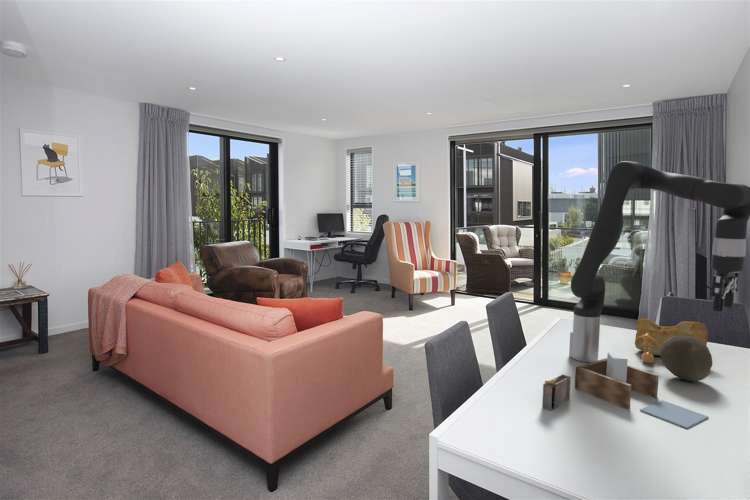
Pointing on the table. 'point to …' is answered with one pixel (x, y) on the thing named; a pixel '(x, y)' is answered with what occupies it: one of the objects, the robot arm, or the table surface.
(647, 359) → the figurine
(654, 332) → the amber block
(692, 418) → the mat
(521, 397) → the table surface
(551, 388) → the brown upright block
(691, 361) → the brown rock
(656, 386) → the open side box
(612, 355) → the skincare box
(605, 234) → the robot arm
